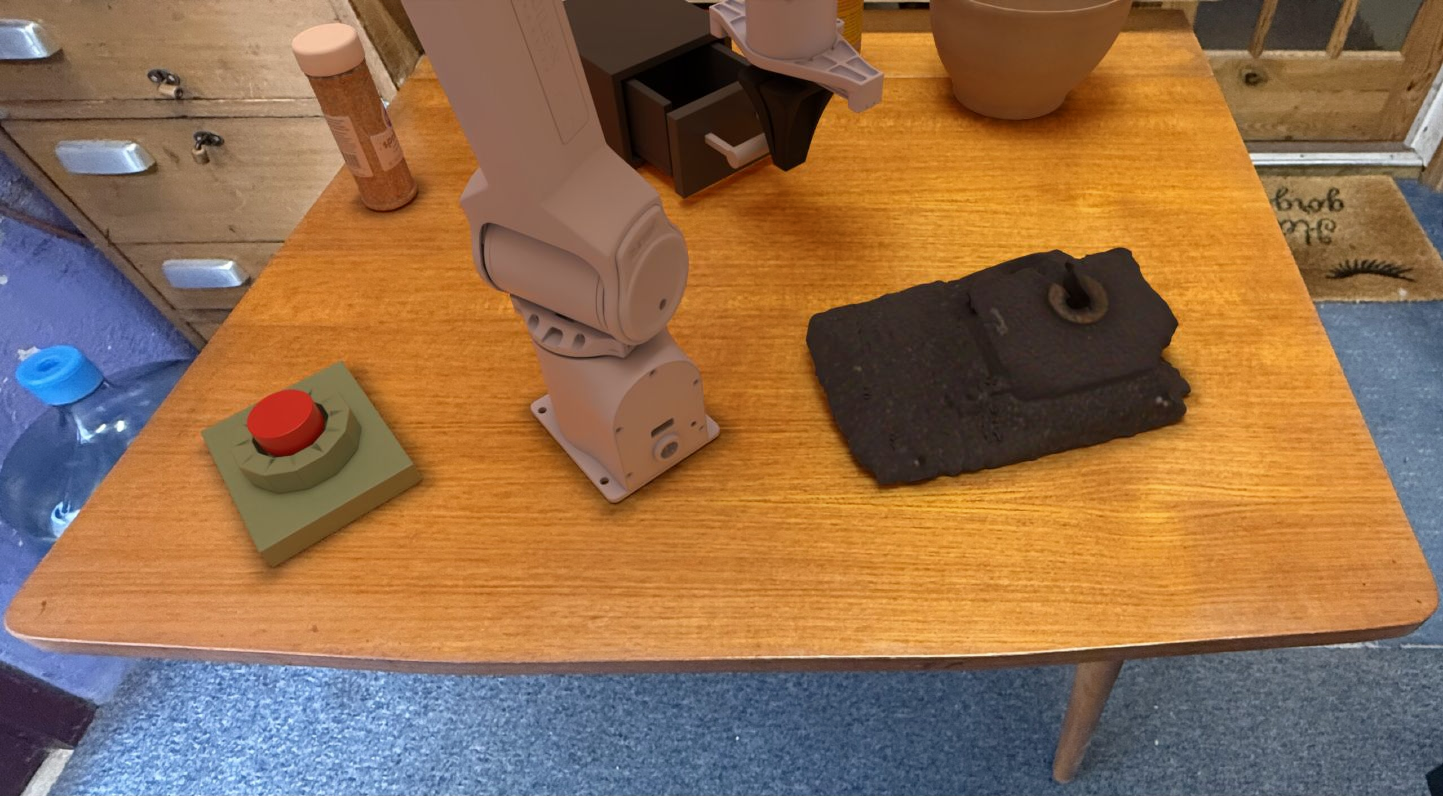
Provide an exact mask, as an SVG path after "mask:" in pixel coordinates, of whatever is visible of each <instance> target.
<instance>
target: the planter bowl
mask: <svg viewBox="0 0 1443 796" xmlns="http://www.w3.org/2000/svg"><path fill="white" fill-rule="evenodd" d="M1134 1H1135V0H929V18H930V19H929V20H930V27H931V33H932V34H931V35H932V38H933V41H934V45H935V46H934V47H935V49H936V52H937V55H938V57H939V60H940V62H941V64H942V65H943V68H944V70H945V71H946V74H947V75H948V76H949V78H950V79H951V81H952V92H953V95H954V97H955V99H956V100H957V101H958V102H959V103H960V104H961V105H962V106H964V107H965V108H966V109H968V110H970V111H972V112H974V113H976V114H979V115H981V116H985V117H990V118H993V119H1000V120H1011V121H1012V120H1013V121H1014V120H1016V121H1019V120H1020V121H1021V120H1030V119H1036V118H1040V117H1043V116H1046V115H1049V114H1050V113H1052V112H1055V111H1056V110H1058V108H1060V107H1061V106H1062V104H1063V103H1064V102H1065V100H1066V97H1067V95H1068V94H1069V92H1071V91H1072V90H1073V89H1075V88H1076V87H1078V85H1080V83H1082V82H1083V81H1084V80H1085V79H1086V78H1087V77H1088V76H1089V75H1090V74H1091V73H1092V72H1093V71H1094V70H1095V69H1096V68H1097V66H1098V65H1099V64H1100V63H1101V62H1102V60H1103V59H1104V58H1105V57H1106V55H1107V54H1108V52H1109V51H1110V50H1111V48H1112V47H1113V45H1114V44H1115V42H1116V40H1117V39H1118V37H1119V35H1120V33H1121V31H1122V30H1123V27H1125V23H1126V21H1127V19H1128V17H1129V15H1130V11H1131V8H1132V6H1133V2H1134Z"/></svg>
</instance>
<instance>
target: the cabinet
mask: <svg viewBox="0 0 1443 796" xmlns="http://www.w3.org/2000/svg"><path fill="white" fill-rule="evenodd" d="M562 2H563V5H564V8H565V11H566V15H567V18H568V21H569V24H570V28H571V31H572V34H573V37H574V41H575V44H576V47H577V50H578V54H579V57H580V60H581V63H582V67H583V70H584V73H585V76H586V80H587V83H588V86H589V89H590V93H591V96H592V99H593V102H594V106H595V109H596V112H597V115H598V119H599V122H600V125H601V128H602V132H603V135H604V138H605V141H606V144H607V145H608V146H609V147H610V148H611V149H612V150H613V151H614V152H615V153H616V154H617V155H618V156H619V157H621V158H622V159H623V160H624V161H625V162H626V163H627V164H629V165H630V166H631V167H632V168H633V169H634V170H635V171H636V169H639V168H642V167H643V166H645V165H647V164H649V163H650V162H648V161H647V160H645V159H644V158H643V157H641V156H640V155H639V154H637V153H636V152H634V151H633V150H632V149H631V144H630V137H629V131H628V124H627V118H626V111H625V105H624V99H623V92H622V86H621V81H622V80H624V79H626V78H629V77H631V76H633V75H636V74H638V73H640V72H643V71H645V70H647V69H650V68H652V67H654V66H656V65H659V64H661V63H663V62H666V61H668V60H670V59H673V58H675V57H677V56H680V55H682V54H684V53H687V52H689V51H691V50H694V49H696V48H698V47H701V46H703V45H705V44H708V43H710V42H712V41H716V42H718V43H720V44H722V45H724V46H725V47H727V48H729V49H731V50H733V40H732V39H731V37H729V36H726V37H724V38H717V37H716V36H714V35H712V34H711V28H710V13H709V11H706V10H705V9H703V8H701V7H699V6H698V5H695V4H693V3H692V2H689V1H687V0H562Z"/></svg>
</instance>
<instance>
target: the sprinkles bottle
mask: <svg viewBox="0 0 1443 796" xmlns="http://www.w3.org/2000/svg"><path fill="white" fill-rule="evenodd" d="M290 47H291V51H292V53H293V56H294V58H295V60H296V63H297V65H298V67H299V69H300V71H301V72H302V73H303V74H304V76H305V77H306V79H307V80H308V82H309V85H310V87H311V88H312V91H313V93H314V96H315V98H316V99H317V102H318V104H319V107H320V111H321V113H322V115H323V117H324V120H325V121H326V124H327V126H328V128H329V131H330V132H331V135H332V136H333V139H334V141H335V144H336V145H337V148H338V150H339V152H340V154H341V156H342V159H343V160H344V163H345V165H346V168H347V169H348V171H349V172H350V173H351V175H352V177H353V178H354V181H355V184H356V186H357V188H358V191H359V192H360V198H361V201H362V204H364V205H365V206H366V207H367V208H369V209H371V210H375V211H384V212H385V211H390V210H396V209H398V208H400V207H403V206H404V205H407V204H408V203H410V202H411V201H412V200H413V199H414V198H415V197H416V194H417V192H418V184H417V182H416V180H415V179H414V178H413V176H412V173H411V170H410V169H409V167H408V163H407V161H406V158H405V156H404V151H403V149H402V146H401V144H400V141H399V138H398V137H397V133H396V131H395V129H394V126H393V124H392V122H391V119H390V116H389V114H388V111H387V110H386V107H385V104H384V101H383V100H382V98H381V95H380V94H379V91H378V89H377V86H376V83H375V81H374V79H373V75H372V74H371V71H370V68H369V66H368V64H367V59H366V51H365V48H364V46H363V43H362V41H361V39H360V36H359V34H358V32H357V30H356V29H355V28H354V27H353V26H352V25H349V24H345V23H341V22H340V23H339V22H333V23H332V22H331V23H324V24H318V25H316V26H315V25H314V26H312V27H309V28H306V29H305V30H303V31H301V32H299V33H298V34H297V35H295V36H294V38H293V40H292V41H291V44H290Z"/></svg>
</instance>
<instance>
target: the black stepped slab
mask: <svg viewBox="0 0 1443 796" xmlns="http://www.w3.org/2000/svg"><path fill="white" fill-rule="evenodd" d="M1179 325H1180V324H1179V321H1178V319H1177V317H1176V316H1175V314H1174V312H1173V310H1172V309H1171V306H1170V305H1169V304H1168V303H1167V301H1166V300H1164V298H1163V297H1162V296H1161V295H1160V294H1159V293H1158V292H1157V291H1156V290H1155V289H1154V288H1153V287H1152V285H1150V283H1149V282H1148V281H1147V280H1146V279H1145V277H1144V275H1143V273H1142V270H1141V266H1140V263H1138V262H1137V260H1136V259H1135V258H1134V256H1133V252H1132V250H1131V249H1129V248H1126V247H1123V246H1119V247H1118V246H1117V247H1114V248H1111V249H1108V250H1105V251H1099V252H1095V253H1091V254H1088V253H1087V254H1085V256H1083V257H1081V258H1077V257H1074V256H1072V255H1071V254H1069V253H1066V252H1064V251H1063V250H1061V249H1057V248H1055V249H1052V250H1048V251H1038V252H1034V253H1029V254H1026V255H1021V256H1019V257H1016V258H1013V259H1008V260H1006V261H1003V262H1000V263H997V264H995V265H992V266H988V267H986V268H984V269H981V270H977V271H974V272H972V273H970V274H967V275H964V276H962V277H960V278H959V279H958V278H957V279H952V280H948V281H943V280H942V279H936V280H934V281H932V282H927V283H926V282H925V283H920V284H917V285H916V284H915V285H914V286H911V287H908V288H905V289H902V290H900V291H896V292H891V293H890V292H889V293H888V292H887V293H884V294H882V295H880V296H879V297H876V298H873V299H871V300H870V299H869V300H867V301H863V302H859V303H858V302H857V303H849V304H845V305H841V306H836V307H832V308H829V309H827V310H825V311H820V312H817V313H814V314H813V315H811V316H810V319H809V320H808V324H807V330H806V336H805V343H806V347H807V348H808V351H809V354H810V357H811V360H812V363H813V366H814V376H815V377H817V380H818V383H819V385H820V386H821V388H822V389H823V392H824V393H825V395H826V397H827V402H828V405H829V409H830V412H831V416H832V418H833V420H834V421H835V423H836V424H837V426H838V428H840V432H841V434H842V435H843V437H844V438H845V439H846V440H847V441H848V443H847V444H848V447H849V450H850V452H851V455H852V456H853V457H854V458H856V459H857V460H858V462H859V464H860V465H861V467H863V468H864V469H866V470H867V471H869V472H871V473H873V474H875V476H876V481H877V484H886V485H887V484H895V483H897V482H902V483H908V482H917V481H920V480H925V479H928V480H934V479H936V478H937V477H939V476H949V477H952V476H953V477H954V476H955V475H958V474H960V472H975V471H978V470H983V469H996V468H1001V467H1003V466H1006V465H1009V464H1014V463H1020V462H1024V461H1035V460H1038V458H1040V457H1042V456H1047V455H1051V454H1057V453H1061V452H1065V451H1069V450H1074V449H1078V448H1080V447H1082V446H1092V445H1096V444H1099V443H1101V442H1107V441H1110V440H1112V439H1115V438H1117V437H1133V436H1135V435H1136V434H1138V433H1141V432H1146V431H1149V430H1151V429H1152V428H1157V427H1162V426H1166V425H1168V424H1172V423H1174V422H1177V421H1178V420H1180V419H1181V418H1183V417H1184V416H1185V415H1186V414H1187V411H1188V407H1187V405H1186V404H1185V401H1184V400H1183V399H1182V398H1184V396H1185V395H1188V394H1190V393H1191V392H1192V388H1191V386H1190V384H1189V382H1188V381H1187V380H1186V378H1184V377H1182V375H1181V372H1180V370H1179V369H1178V368H1176V367H1174V366H1173V364H1172V363H1171V362H1169V360H1166V359H1165V358H1164V357H1163V356H1162V354H1163V351H1164V350H1165V349H1167V348H1168V347H1170V346H1171V342H1172V338H1173V336H1174V334H1175V333H1176V331H1177V328H1178V327H1179Z"/></svg>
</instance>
